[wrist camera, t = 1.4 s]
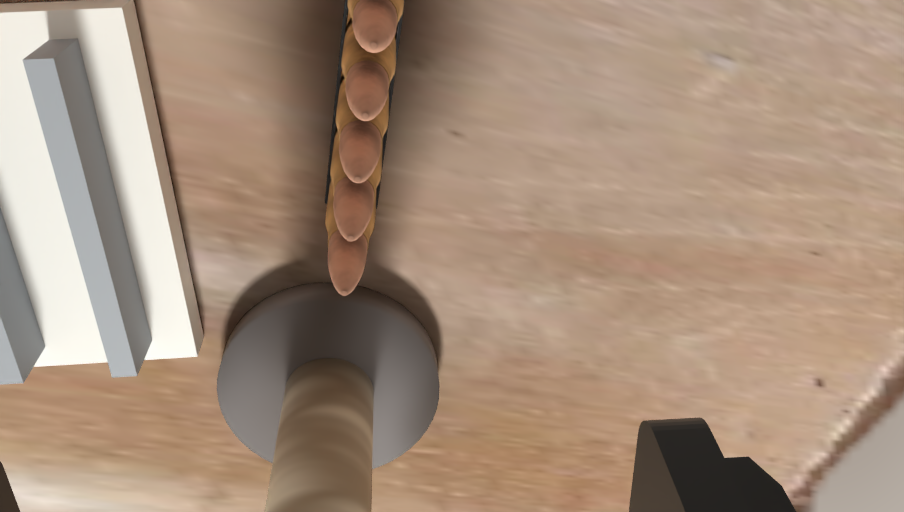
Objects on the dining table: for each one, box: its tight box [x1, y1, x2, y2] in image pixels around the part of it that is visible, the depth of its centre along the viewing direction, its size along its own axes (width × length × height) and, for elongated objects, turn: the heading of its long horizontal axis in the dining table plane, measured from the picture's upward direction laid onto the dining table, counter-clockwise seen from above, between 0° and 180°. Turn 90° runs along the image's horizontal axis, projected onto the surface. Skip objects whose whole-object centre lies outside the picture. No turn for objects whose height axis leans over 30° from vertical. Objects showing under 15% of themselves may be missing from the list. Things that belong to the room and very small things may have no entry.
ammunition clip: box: [325, 0, 405, 296], centre depth 27 cm, size 11×2×12 cm, turn 171°
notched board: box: [0, 0, 204, 384], centre depth 32 cm, size 9×15×4 cm, turn 2°
